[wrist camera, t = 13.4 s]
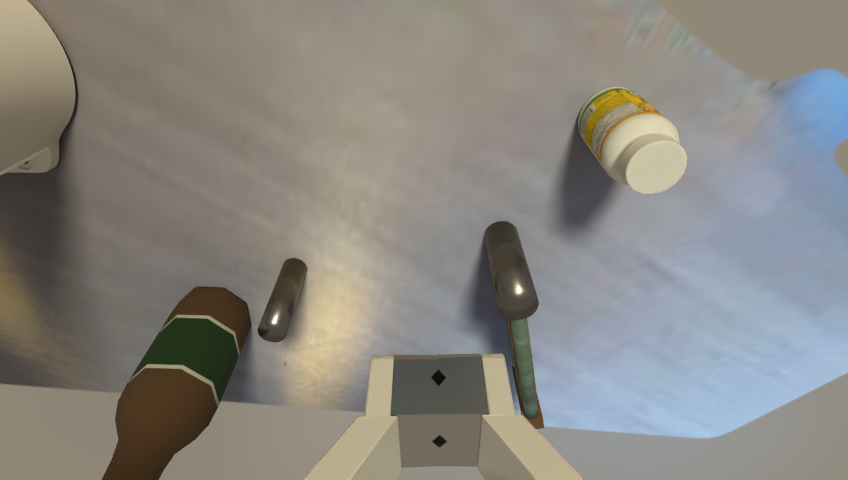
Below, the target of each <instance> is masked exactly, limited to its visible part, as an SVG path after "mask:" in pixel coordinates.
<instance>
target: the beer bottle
mask: <svg viewBox="0 0 848 480" xmlns="http://www.w3.org/2000/svg"><path fill="white" fill-rule="evenodd" d="M250 325H251V323H250V319H249V314H248V309H247V304H246V302H245V301H243V300H242V299H240V298H239V297H237V296H236V295H234V294H233V293H231V292H230V291H228V290H227V289H225V288H219V287H196V288H194V289H193V290H192V291H191V292H190V293H189V294H188V295H187V296H185V297H184V298H183V299H182V300H181V301H180V302H179V303H178V305H177V306H176V307H175V309H174V310H173V311H172V313H171V314H170V316H169V317H168V319H167V321H166V322H165V324H164V325H163V327H162V329H161V330H160V332H159V333H158V335H157V337H156V338H155V340H154V341H153V343H152V345H151V346H150V348H149V349H148V351H147V353H146V354H145V356H144V357H143V359H142V361H141V362H140V364H139V365H138V367H137V369H136V370H135V372H134V373H133V375H132V377H131V378H130V380H129V381H128V383H127V385H126V387H125V389H124V391H123V393H122V395H121V397H120V399H119V401H118V405H117V412H116V418H115V421H116V427H117V433H118V439H119V440H118V443H117V446H116V449H115V452H114V455H113V458H112V460H111V462H110V464H109V466H108V468H107V470H106V473H105V474H104V476H103V478H102V480H158V479H159V478H160V476H161V474H162V472H163V470H164V469H165V467H166V466H167V465H168V463H169V462H170V460H171V459H172V457H173V456H174V454H175V453H177V452H178V451H180V450H181V449H182V448H184V447H185V446H186V445H188V444H189V443H191V442H192V441H193V440H195V439H196V438H197V437H198V436H199V435H200V434H201V432H202V431H203V430H204V429H205V428H206V427H207V426H208V425H209V423H210V421H211V419H212V417H213V415H214V414H215V412H216V410H217V408H218V405H219V403H220V401H221V398H222V396H223V393H224V391H225V388H226V386H227V384H228V381H229V379H230V376H231V374H232V371H233V369H234V367H235V364H236V362H237V359H238V357H239V354H240V352H241V350H242V347H243V345H244V342H245V340H246V337H247V334H248V331H249V328H250Z"/></svg>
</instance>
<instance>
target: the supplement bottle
mask: <svg viewBox="0 0 848 480" xmlns="http://www.w3.org/2000/svg"><path fill="white" fill-rule="evenodd" d="M578 129H579V133H580V135H581V137H582V139H583V140H584V142H585V143H586V145H587V146H588V147H589V149H590V150H591V152H592V153H593V154H594V156H595V157H596V159H597V160H598V161H599V163H600V164H601V166H602V167H603V169H604V170H605V171H606V173H607V174H608V175H609V176H610V177H611V178H612V179H614V180H615V181H617V182H620V183H623V184H627V185H628V186H629V187H630V188H631V189H632V190H634V191H636V192H638V193H641V194H647V195H649V194H657V193H660V192H663V191H665V190H667V189H669V188H670V187H672V186H673V185H674V184H675V183H677V182H678V180H679V179H680V178H681V177H682V175H683V174H684V172H685V169H686V166H687V156H686V153H685V151H684V149H683V148H682V147H681V146H680V145H679V135H678V132H677V130H676V128H675V127H674V125H673V124H672V123H671V122H670V121H669V120H668V119H667V118H665V117H664V116H663V115H662V114H661V113H659V112H658V111H657V110H656V109H655V108H653V107H652V106H651V105H650V104H649V103H648V102H646V101H645V100H644V99H643V98H642V97H640V96H639V95H638V94H637V93H635V92H634V91H632V90H629V89H627V88H623V87H610V88H607V89H604V90H602V91H600V92H598V93H596V94H595V95H593V96H592V97H591V98H590V99H589V100H588V101H587V102H586V104H585V105H584V107H583V108H582V110H581V112H580V115H579V119H578Z"/></svg>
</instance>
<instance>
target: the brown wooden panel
mask: <svg viewBox="0 0 848 480" xmlns="http://www.w3.org/2000/svg"><path fill="white" fill-rule="evenodd" d="M506 320H507V326H508V332H509V339H510V345H511V351H512V357H513V363H514V366H512V368H513V374H514V380H515V385H516V390H517V395H518V400H519V405H520V410H521V415H523V416H524V417H525V418H526V419H527V420H528V421H529V422H530V423H531V424H532V425H533V427H534V428H535V429H540V428H544V424H543V417H542V413H541V409H540V405H539V400H538V396H537V392H536V385H535V377H534V370H533V362H532V354H531V346H530V338H529V331H528V323H527V318H525V319H521V320H511V319H507V318H506Z"/></svg>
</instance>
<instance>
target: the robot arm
mask: <svg viewBox="0 0 848 480" xmlns="http://www.w3.org/2000/svg"><path fill="white" fill-rule="evenodd" d="M74 105H75V83H74V78H73V74H72V70H71V67H70V64H69V61H68V59H67V56H66V54H65V52H64V50H63V48H62V46H61V44H60V42H59V40H58V39H57V37H56V35H55V34H54V32H53V31H52V29H51V28H50V26H49V25H48V24H47V22H46V21H45V20H44V19H43V17H42V16H41V15H40V14H39V13H38V11H37V10H36V9H35V8H34V7H33V6H32V5H31V4H30V3H29V2H28V1H27V0H0V175H2V174H4V173H43V172H47V171H49V170H51V169H53V168H55V167H56V166H57V164H58V161H59V139H60V136H61V134H62V132H63V131H64V129H65V127H66V126H67V124H68V123H69V121H70V119H71V116H72V114H73V110H74ZM439 464H440V466H478V470H479V471H480V473H481V474H482V475H483V477H484V478H485V480H583V478H582V477H581V476H580V475H579V474H578V473H577V472H576V471H575V470H574V469H573V468H572V467H571V466H570V465H569V464H568V463H567V461H566V460H565V459H564V458H563V457H562V456H561V455H560V454H559V453H558V452H557V451H556V450H555V449H554V448H553V447H552V446H551V445H550V443H548V441H547V440H546V439H545V438H544V437H543V436H542V435H541V434H540V433H539V432H538V431H537V430H536V429H535V428H534V427H533V425H532V424H531V423H530V422H529V421H528V420H527V419H526V418H525V417H524V416H523V415H519V414H515V409H514V404H513V399H512V393H511V388H510V383H509V378H508V372H507V367H506V362H505V357H504V355H503V354H481V355H480V354H447V355H373V356H372V359H371V363H370V372H369V380H368V389H367V397H366V406H365V415H364V416H358V417H357V418H356V419H355V420H354V421H353V423H352V424H351V425H350V426H349V427H348V429H347V430H346V431H345V432H344V433H343V434H342V436H341V437H340V438H339V439H338V440H337V442H336V443H335V444H334V445H333V446H332V447H331V449H330V450H329V451H328V452H327V453H326V455H325V456H324V457H323V458H322V459H321V460H320V461H319V463H318V464H317V465H316V466H315V467H314V469H313V470H312V471H311V472H310V473H309V474H308V476H307V477H306V478H305V479H304V480H396V478H397V476H398V475H399V473H400V472H401V467H423V466H439Z"/></svg>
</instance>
